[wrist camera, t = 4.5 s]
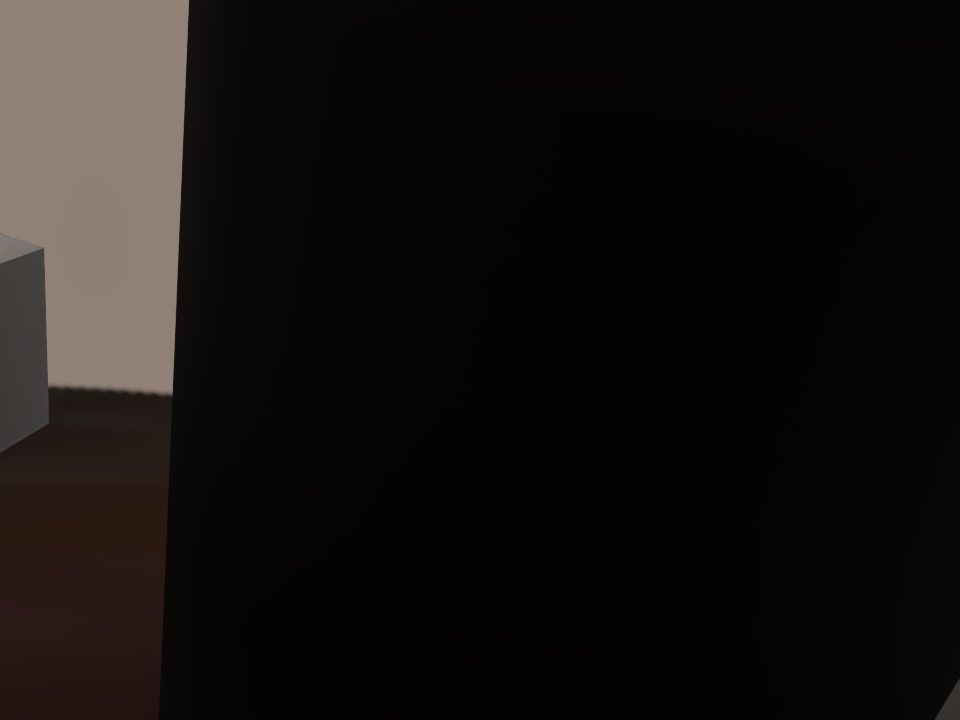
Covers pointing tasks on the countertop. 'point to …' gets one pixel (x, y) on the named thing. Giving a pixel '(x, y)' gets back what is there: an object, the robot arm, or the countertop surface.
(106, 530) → the countertop surface
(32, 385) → the robot arm
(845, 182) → the coffee jar
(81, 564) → the countertop surface
